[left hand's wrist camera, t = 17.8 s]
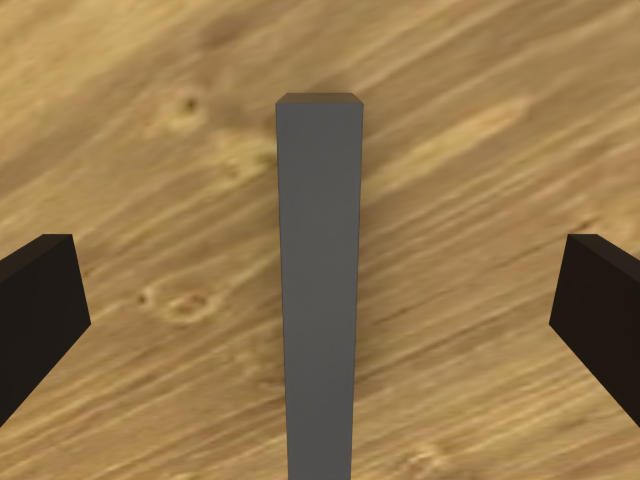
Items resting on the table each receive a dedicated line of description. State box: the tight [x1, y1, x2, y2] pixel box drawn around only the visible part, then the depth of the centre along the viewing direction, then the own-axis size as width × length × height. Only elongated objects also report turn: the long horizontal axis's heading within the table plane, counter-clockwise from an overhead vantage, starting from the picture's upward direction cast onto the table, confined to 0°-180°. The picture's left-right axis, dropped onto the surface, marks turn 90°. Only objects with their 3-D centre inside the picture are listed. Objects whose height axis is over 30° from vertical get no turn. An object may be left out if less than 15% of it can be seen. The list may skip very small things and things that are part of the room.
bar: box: [276, 93, 363, 480], centre depth 32 cm, size 27×5×8 cm, turn 0°
